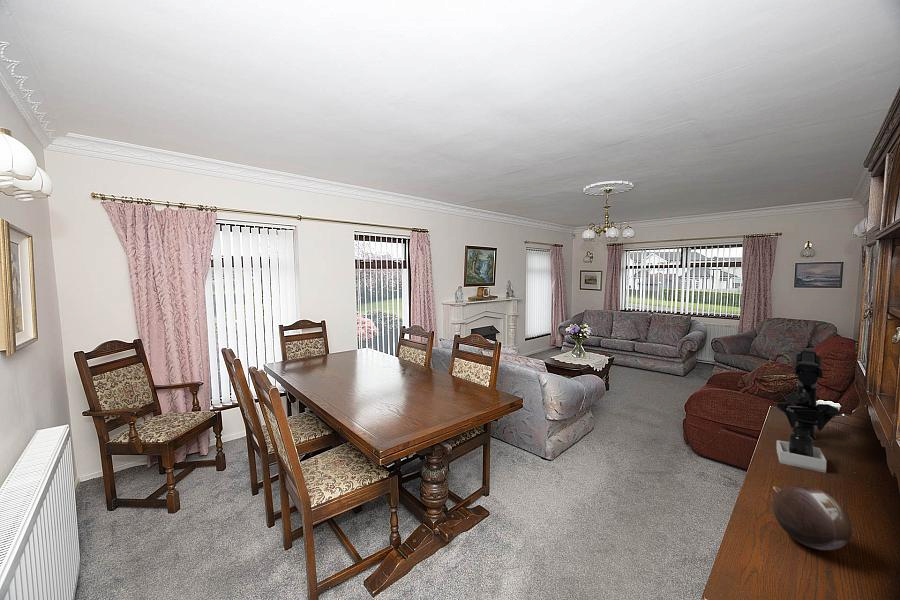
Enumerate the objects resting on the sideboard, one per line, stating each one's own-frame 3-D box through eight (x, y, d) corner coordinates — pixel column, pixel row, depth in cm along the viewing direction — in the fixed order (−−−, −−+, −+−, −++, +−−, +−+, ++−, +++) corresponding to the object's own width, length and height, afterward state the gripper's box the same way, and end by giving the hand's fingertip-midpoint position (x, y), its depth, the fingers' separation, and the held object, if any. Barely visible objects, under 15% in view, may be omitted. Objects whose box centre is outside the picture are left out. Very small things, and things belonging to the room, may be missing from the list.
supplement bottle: (809, 457, 142) (810, 427, 142) (815, 464, 137) (816, 433, 136) (786, 453, 146) (787, 423, 145) (791, 460, 140) (792, 429, 140)
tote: (776, 450, 150) (776, 440, 150) (819, 459, 142) (819, 448, 142) (779, 462, 140) (780, 451, 140) (825, 472, 132) (826, 461, 132)
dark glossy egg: (825, 570, 88) (828, 511, 88) (759, 530, 103) (760, 479, 102) (865, 557, 92) (868, 500, 92) (796, 520, 107) (797, 471, 106)
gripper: (768, 385, 159) (765, 420, 155) (819, 385, 142) (818, 424, 137) (787, 394, 161) (785, 429, 156) (840, 395, 144) (840, 434, 139)
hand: (805, 429), depth 147 cm, fingers open, 9 cm apart
